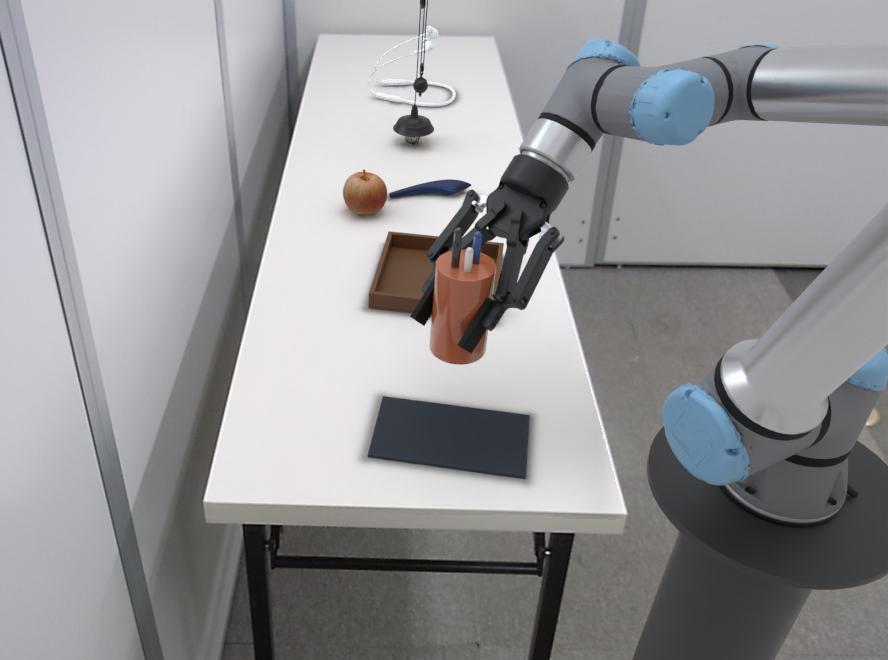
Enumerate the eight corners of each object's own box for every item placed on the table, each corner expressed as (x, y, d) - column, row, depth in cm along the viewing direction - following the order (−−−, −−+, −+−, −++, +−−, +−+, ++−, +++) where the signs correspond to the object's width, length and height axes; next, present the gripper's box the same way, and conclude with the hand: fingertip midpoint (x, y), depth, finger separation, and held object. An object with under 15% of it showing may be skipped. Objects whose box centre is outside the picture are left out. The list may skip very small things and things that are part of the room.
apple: (336, 204, 167) (336, 163, 161) (377, 198, 168) (378, 158, 163) (350, 224, 161) (350, 183, 156) (392, 218, 163) (393, 177, 158)
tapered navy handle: (391, 206, 168) (391, 196, 166) (387, 194, 170) (387, 183, 168) (472, 195, 170) (474, 185, 168) (468, 184, 172) (469, 173, 170)
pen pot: (487, 334, 114) (503, 214, 103) (483, 368, 109) (498, 245, 98) (433, 328, 115) (442, 208, 104) (425, 361, 110) (435, 238, 99)
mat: (529, 417, 121) (529, 414, 121) (525, 479, 112) (525, 476, 112) (382, 398, 124) (382, 395, 124) (367, 457, 115) (367, 454, 115)
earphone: (369, 63, 211) (430, 15, 202) (411, 119, 218) (472, 76, 209) (358, 84, 201) (422, 35, 192) (403, 142, 208) (467, 98, 198)
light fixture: (440, 153, 184) (452, -10, 163) (400, 157, 182) (408, -7, 162) (426, 133, 191) (436, -25, 170) (387, 137, 189) (393, -23, 169)
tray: (502, 257, 153) (504, 242, 151) (493, 322, 138) (496, 307, 136) (388, 245, 155) (388, 231, 154) (368, 308, 141) (368, 293, 139)
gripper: (624, 211, 104) (516, 381, 106) (491, 156, 115) (396, 310, 117) (605, 183, 97) (492, 364, 99) (467, 127, 108) (367, 290, 111)
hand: (440, 334), depth 108 cm, fingers closed on pen pot, 7 cm apart
